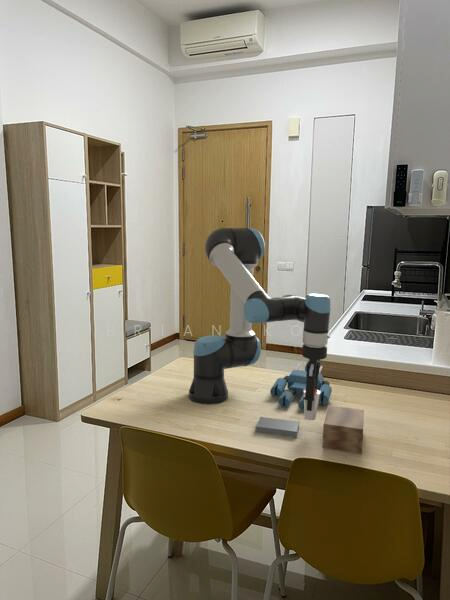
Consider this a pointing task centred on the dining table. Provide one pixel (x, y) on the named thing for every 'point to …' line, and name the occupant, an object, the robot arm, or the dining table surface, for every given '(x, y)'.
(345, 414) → the brown wooden block
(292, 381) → the toy
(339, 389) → the dining table surface
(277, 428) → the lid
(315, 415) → the cup
